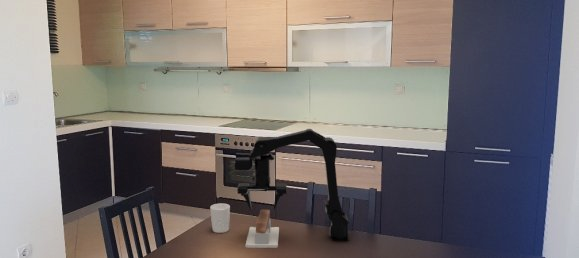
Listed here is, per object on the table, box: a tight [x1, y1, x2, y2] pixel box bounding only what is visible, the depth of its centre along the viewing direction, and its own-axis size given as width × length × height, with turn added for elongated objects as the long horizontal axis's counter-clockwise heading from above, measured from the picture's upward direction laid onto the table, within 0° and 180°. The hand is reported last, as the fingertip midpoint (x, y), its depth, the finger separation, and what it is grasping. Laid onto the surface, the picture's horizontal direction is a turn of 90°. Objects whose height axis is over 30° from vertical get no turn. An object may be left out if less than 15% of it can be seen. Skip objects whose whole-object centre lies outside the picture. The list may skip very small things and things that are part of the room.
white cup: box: [209, 203, 231, 234], centre depth 191 cm, size 8×8×10 cm
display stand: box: [245, 219, 280, 249], centre depth 183 cm, size 12×18×5 cm, turn 179°
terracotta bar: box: [255, 209, 271, 234], centre depth 182 cm, size 4×15×4 cm, turn 176°
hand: (262, 209), depth 181 cm, fingers open, 9 cm apart
